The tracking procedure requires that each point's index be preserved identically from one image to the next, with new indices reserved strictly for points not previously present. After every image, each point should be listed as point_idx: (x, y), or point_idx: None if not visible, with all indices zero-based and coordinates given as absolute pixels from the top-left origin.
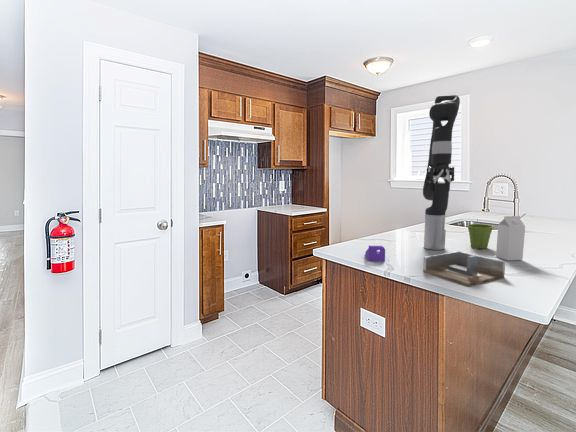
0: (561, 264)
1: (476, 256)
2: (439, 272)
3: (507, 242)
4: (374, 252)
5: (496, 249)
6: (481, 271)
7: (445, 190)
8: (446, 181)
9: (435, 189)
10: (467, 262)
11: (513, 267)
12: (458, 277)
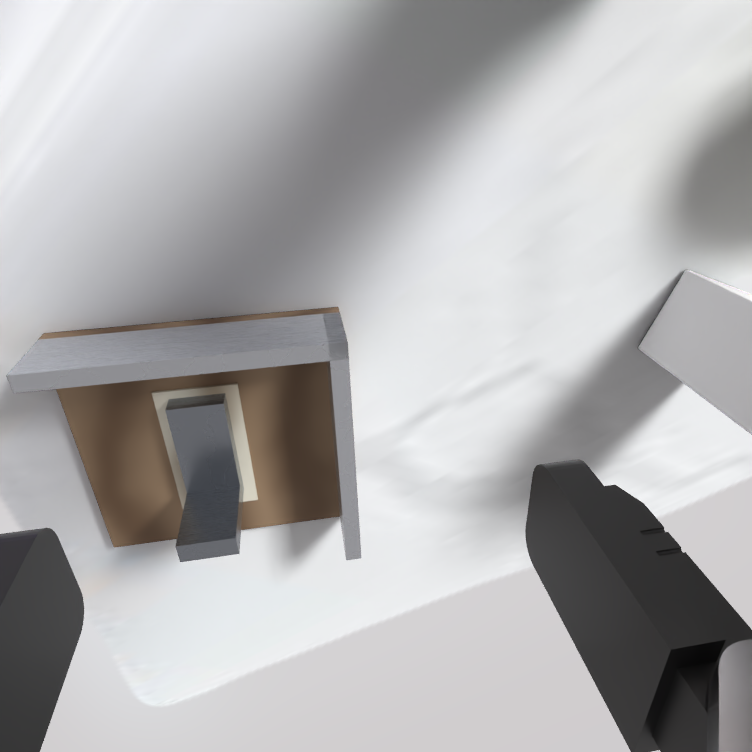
0: (738, 459)
1: (222, 555)
2: (95, 408)
3: (705, 388)
4: None
5: (713, 284)
6: (311, 457)
7: (542, 507)
8: (703, 746)
9: (60, 680)
10: (181, 524)
11: (536, 428)
12: (133, 486)
